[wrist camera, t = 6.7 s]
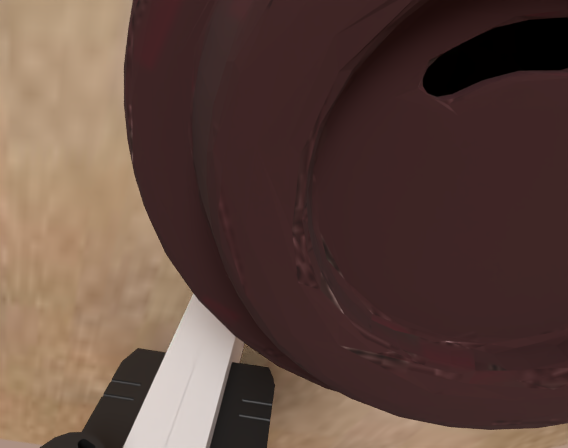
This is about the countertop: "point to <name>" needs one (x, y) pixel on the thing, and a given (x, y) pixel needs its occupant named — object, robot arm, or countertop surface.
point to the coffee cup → (368, 191)
